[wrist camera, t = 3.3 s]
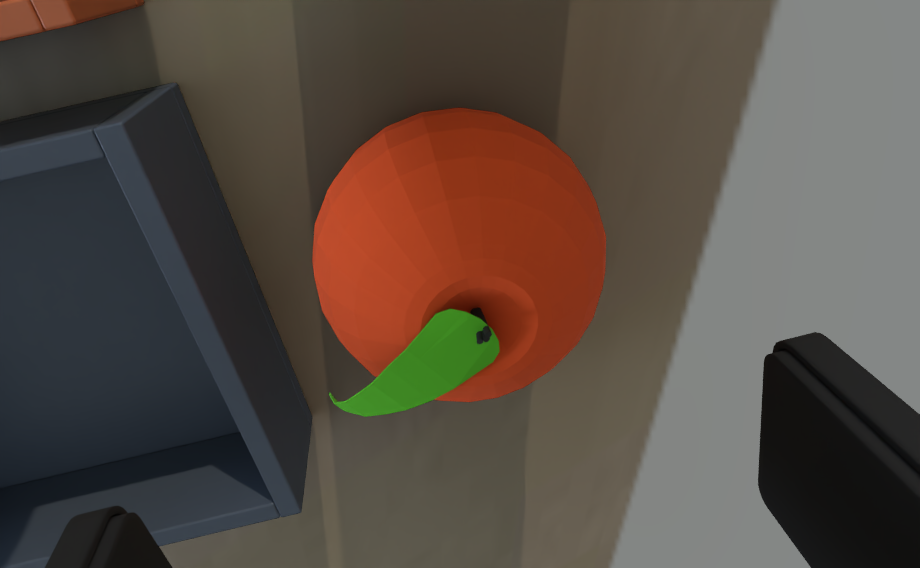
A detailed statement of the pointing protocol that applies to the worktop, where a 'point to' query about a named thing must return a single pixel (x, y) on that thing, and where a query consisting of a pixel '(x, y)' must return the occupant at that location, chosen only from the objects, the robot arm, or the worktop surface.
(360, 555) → the worktop surface
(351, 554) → the worktop surface
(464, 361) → the clementine
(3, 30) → the terracotta bin
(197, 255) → the grey bin
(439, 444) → the worktop surface
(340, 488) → the worktop surface
